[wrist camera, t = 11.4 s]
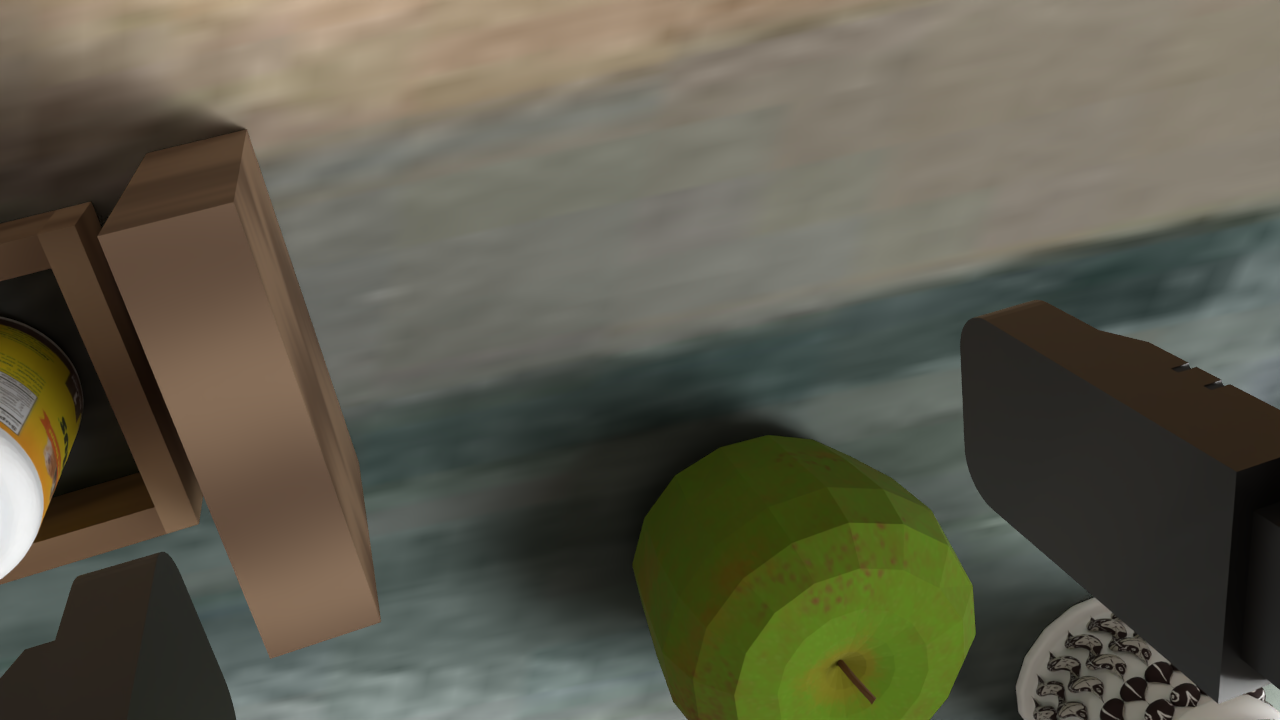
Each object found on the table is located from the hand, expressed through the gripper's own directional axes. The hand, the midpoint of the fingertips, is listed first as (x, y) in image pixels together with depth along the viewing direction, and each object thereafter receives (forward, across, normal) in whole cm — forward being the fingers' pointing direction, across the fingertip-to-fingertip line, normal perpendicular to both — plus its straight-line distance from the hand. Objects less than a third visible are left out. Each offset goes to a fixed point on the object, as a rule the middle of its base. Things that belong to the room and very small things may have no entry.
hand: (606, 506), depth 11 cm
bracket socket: (+27, +12, +6) cm, 30 cm away
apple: (+27, -10, +20) cm, 35 cm away
